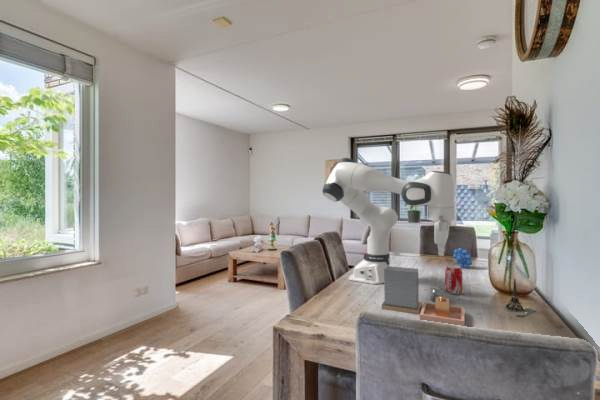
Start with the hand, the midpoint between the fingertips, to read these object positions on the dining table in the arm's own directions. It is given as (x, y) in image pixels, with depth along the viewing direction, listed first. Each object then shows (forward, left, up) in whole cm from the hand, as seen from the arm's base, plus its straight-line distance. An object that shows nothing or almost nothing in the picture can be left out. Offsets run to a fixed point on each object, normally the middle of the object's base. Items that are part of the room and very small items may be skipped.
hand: (442, 253), depth 113 cm
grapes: (+6, +85, -24) cm, 88 cm away
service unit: (-15, +4, -23) cm, 28 cm away
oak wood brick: (0, -1, -23) cm, 23 cm away
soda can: (+3, +32, -24) cm, 40 cm away
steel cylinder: (-3, +18, -24) cm, 30 cm away
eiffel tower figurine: (+25, +19, -24) cm, 39 cm away
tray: (0, -1, -23) cm, 23 cm away
